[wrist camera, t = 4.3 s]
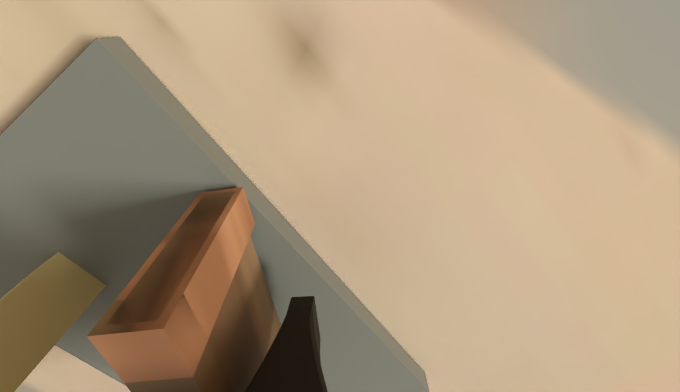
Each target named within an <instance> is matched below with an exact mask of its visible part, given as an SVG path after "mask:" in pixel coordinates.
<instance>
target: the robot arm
mask: <svg viewBox="0 0 680 392" xmlns="http://www.w3.org/2000/svg"><path fill="white" fill-rule="evenodd" d="M245 392H328V391H327V387H326V383H325V380H324V376H323V372H322V368H321V359H320V332H319V325H318V318H317V311H316V304H315V298H314V296H303V297H291V300H290V303H289V307H288V310H287V314H286V316H285V319H284V321H283V323H282V325H281V327H280V329H279V331H278V333H277V335H276V337H275V339H274V341H273V343H272V345H271V347H270V349H269V351H268V352H267V354H266V356H265V358H264V360H263V362H262V364H261V365H260V367H259V369H258V370H257V372H256V374H255V375H254V377H253V379H252V380H251V382H250V384H249V385H248V387H247V389H246V390H245Z"/></svg>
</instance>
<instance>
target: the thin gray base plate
mask: <svg viewBox="0 0 680 392" xmlns="http://www.w3.org/2000/svg"><path fill="white" fill-rule="evenodd" d="M240 187H243V188H244V191H245V194H246V197H247V200H248V203H249V206H250V209H251V213H252V216H253V219H254V222H255V226H254V228H253V230H252V233H251V235H250V236H251V239H252V241H253V244H254V247H255V250H256V253H257V256H258V259H259V262H260V265H261V268H262V271H263V274H264V277H265V279H266V282H267V285H268V288H269V291H270V294H271V297H272V300H273V303H274V306H275V309H276V312H277V315H278V317H279V320H280V323H281V325H282V323H283V321H284V319H285V316H286V314H287V310H288V307H289V303H290V300H291V297H303V296H314V298H315V304H316V311H317V318H318V325H319V332H320V359H321V368H322V372H323V376H324V380H325V383H326V387H327V391H328V392H429V388H428V384H427V379H426V375H425V372H424V371H423V370H422V369H421V367H420V366H419V365H418V364H417V363H416V362H415V361H414V360H413V359H412V358H411V356H410V355H409V354H408V353H407V352H406V351H405V350H404V349H403V348H402V347H401V345H400V344H399V343H398V342H397V341H396V340H395V339H394V338H393V337H392V336H391V334H390V333H389V332H388V331H387V330H386V329H385V328H384V327H383V326H382V325H381V323H380V322H379V321H378V320H377V319H376V318H375V317H374V316H373V315H372V314H371V312H370V311H369V310H368V309H367V308H366V307H365V306H364V305H363V304H362V303H361V301H360V300H359V299H358V298H357V297H356V296H355V295H354V294H353V293H352V292H351V290H350V289H349V288H348V287H347V286H346V285H345V284H344V283H343V282H342V281H341V279H340V278H339V277H338V276H337V275H336V274H335V273H334V272H333V271H332V270H331V268H330V267H329V266H328V265H327V264H326V263H325V262H324V261H323V260H322V259H321V257H320V256H319V255H318V254H317V253H316V252H315V251H314V250H313V249H312V248H311V246H310V245H309V244H308V243H307V242H306V241H305V240H304V239H303V238H302V237H301V235H300V234H299V233H298V232H297V231H296V230H295V229H294V228H293V227H292V226H291V224H290V223H289V222H288V221H287V220H286V219H285V218H284V217H283V216H282V215H281V213H280V212H279V211H278V210H277V209H276V208H275V207H274V206H273V205H272V204H271V202H270V201H269V200H268V199H267V198H266V197H265V196H264V195H263V194H262V193H261V191H260V190H259V189H258V188H257V187H256V186H255V185H254V184H253V183H252V182H251V180H250V179H249V178H248V177H247V176H246V175H245V174H244V173H243V172H242V171H241V169H240V168H239V167H238V166H237V165H236V164H235V163H234V162H233V161H232V160H231V158H230V157H229V156H228V155H227V154H226V153H225V152H224V151H223V150H222V149H221V147H220V146H219V145H218V144H217V143H216V142H215V141H214V140H213V139H212V138H211V136H210V135H209V134H208V133H207V132H206V131H205V130H204V129H203V128H202V127H201V125H200V124H199V123H198V122H197V121H196V120H195V119H194V118H193V117H192V116H191V114H190V113H189V112H188V111H187V110H186V109H185V108H184V107H183V106H182V105H181V103H180V102H179V101H178V100H177V99H176V98H175V97H174V96H173V95H172V94H171V92H170V91H169V90H168V89H167V88H166V87H165V86H164V85H163V84H162V83H161V81H160V80H159V79H158V78H157V77H156V76H155V75H154V74H153V73H152V72H151V70H150V69H149V68H148V67H147V66H146V65H145V64H144V63H143V62H142V61H141V59H140V58H139V57H138V56H137V55H136V54H135V53H134V52H133V51H132V50H131V48H130V47H129V46H128V45H127V44H126V43H125V42H124V41H123V40H122V39H121V37H110V38H99V39H95V40H94V41H93V42H92V43H91V44H90V45H89V46H88V47H87V49H86V50H85V51H84V52H83V53H82V54H81V55H80V56H79V57H78V58H77V59H76V60H75V61H74V62H73V63H72V64H71V65H70V66H69V67H68V68H67V69H66V70H65V71H64V72H63V73H62V74H61V75H60V76H59V77H58V78H57V79H56V80H55V81H54V82H53V83H52V84H51V85H50V86H49V87H48V88H47V89H46V90H45V91H44V92H43V93H42V94H41V95H40V96H39V97H38V98H37V99H36V100H35V101H34V102H33V103H32V104H31V105H30V106H29V107H28V108H27V109H26V110H25V111H24V112H23V113H22V114H21V115H20V116H19V117H18V118H17V119H16V120H15V121H14V122H13V123H12V124H11V125H10V126H9V127H8V128H7V129H6V130H5V131H4V132H3V133H2V134H1V135H0V392H14V391H15V390H16V389H17V388H18V387H19V385H20V384H21V383H22V382H23V381H24V380H25V379H26V377H27V376H28V375H29V374H30V373H31V372H32V370H33V369H34V368H35V367H36V366H37V365H38V364H39V362H40V361H41V360H42V359H43V358H44V357H45V355H46V354H47V353H48V352H49V351H50V350H51V349H52V347H53V346H54V345H56V346H58V347H60V348H61V349H63V350H65V351H66V352H68V353H70V354H72V355H73V356H75V357H77V358H79V359H80V360H82V361H84V362H86V363H87V364H89V365H91V366H92V367H94V368H96V369H98V370H99V371H101V372H103V373H105V374H106V375H108V376H110V377H112V378H113V379H115V380H117V381H119V382H120V383H122V384H124V385H125V383H124V382H123V381H122V380H121V379H120V377H119V376H118V375H117V374H116V372H115V371H114V370H113V369H112V367H111V366H110V365H109V364H108V362H107V361H106V360H105V359H104V357H103V356H102V355H101V354H100V352H99V351H98V350H97V349H96V348H95V346H94V345H93V344H92V343H91V341H90V340H89V339H88V338H87V335H88V334H89V333H90V331H91V330H92V329H93V328H94V326H95V325H96V324H97V323H98V321H99V320H100V319H101V317H102V316H103V315H104V314H105V312H106V311H107V310H108V309H109V307H110V306H111V305H112V304H113V302H114V301H115V300H116V298H117V297H118V296H119V295H120V293H121V292H122V291H123V290H124V288H125V287H126V286H127V285H128V283H129V282H130V281H131V280H132V278H133V277H134V276H135V274H136V273H137V272H138V271H139V269H140V268H141V267H142V266H143V264H144V263H145V262H146V261H147V259H148V258H149V257H150V255H151V254H152V253H153V252H154V250H155V249H156V248H157V247H158V245H159V244H160V243H161V242H162V240H163V239H164V238H165V236H166V235H167V234H168V233H169V231H170V230H171V229H172V228H173V226H174V225H175V224H176V223H177V221H178V220H179V219H180V217H181V216H182V215H183V214H184V212H185V211H186V210H187V209H188V207H189V206H190V205H191V204H192V202H193V201H194V200H195V199H196V197H197V196H198V195H199V193H201V192H209V191H217V190H224V189H232V188H240ZM125 386H126V385H125Z"/></svg>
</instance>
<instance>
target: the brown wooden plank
mask: <svg viewBox="0 0 680 392" xmlns="http://www.w3.org/2000/svg"><path fill="white" fill-rule="evenodd" d="M254 226H255V222H254V219H253V216H252V213H251V209H250V206H249V203H248V200H247V197H246V194H245V191H244V188H243V187H240V188H232V189H224V190H217V191H209V192H201V193H199V195H198V196H197V197H196V199H195V200H194V201H193V202H192V204H191V205H190V206H189V207H188V209H187V210H186V211H185V212H184V214H183V215H182V216H181V217H180V219H179V220H178V221H177V223H176V224H175V225H174V226H173V228H172V229H171V230H170V231H169V233H168V234H167V235H166V236H165V238H164V239H163V240H162V242H161V243H160V244H159V245H158V247H157V248H156V249H155V250H154V252H153V253H152V254H151V255H150V257H149V258H148V259H147V261H146V262H145V263H144V264H143V266H142V267H141V268H140V269H139V271H138V272H137V273H136V274H135V276H134V277H133V278H132V280H131V281H130V282H129V283H128V285H127V286H126V287H125V288H124V290H123V291H122V292H121V293H120V295H119V296H118V297H117V298H116V300H115V301H114V302H113V304H112V305H111V306H110V307H109V309H108V310H107V311H106V312H105V314H104V315H103V316H102V317H101V319H100V320H99V321H98V323H97V324H96V325H95V326H94V328H93V329H92V330H91V331H90V333H89V334H88V335H87V338H88V339H89V340H90V341H91V343H92V344H93V345H94V346H95V348H96V349H97V350H98V351H99V352H100V354H101V355H102V356H103V357H104V359H105V360H106V361H107V362H108V364H109V365H110V366H111V367H112V369H113V370H114V371H115V372H116V374H117V375H118V376H119V377H120V379H121V380H122V381H123V382H124V383H125V385H126V386H127V387H128V388H129V390H130V391H131V392H245V390H246V389H247V387H248V385H249V384H250V382H251V380H252V379H253V377H254V375H255V374H256V372H257V370H258V369H259V367H260V365H261V364H262V362H263V360H264V358H265V356H266V354H267V352H268V351H269V349H270V347H271V345H272V343H273V341H274V339H275V337H276V335H277V333H278V331H279V329H280V327H281V323H280V320H279V317H278V315H277V312H276V309H275V306H274V303H273V300H272V297H271V294H270V291H269V288H268V285H267V282H266V279H265V277H264V274H263V271H262V268H261V265H260V262H259V259H258V256H257V253H256V250H255V247H254V244H253V241H252V239H251V236H250V235H251V233H252V230H253V228H254Z"/></svg>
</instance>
